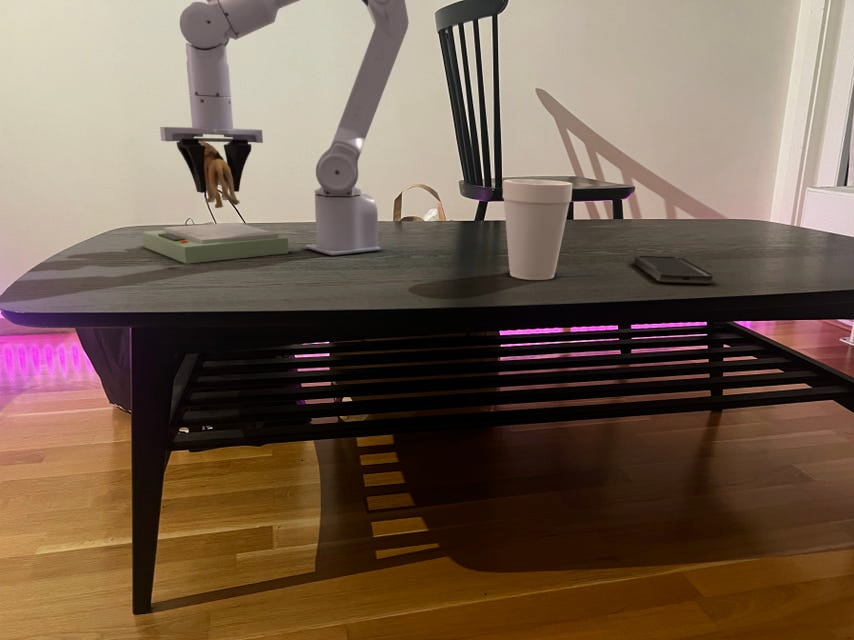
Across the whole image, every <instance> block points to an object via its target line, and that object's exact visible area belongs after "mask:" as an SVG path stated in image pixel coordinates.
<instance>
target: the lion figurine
mask: <svg viewBox="0 0 854 640" xmlns="http://www.w3.org/2000/svg"><path fill="white" fill-rule="evenodd" d="M199 143H201V145H203V146H205V158H204V170H205V179H206V194H207V198H206V199H205V203H206V204H207V203H209V204H210V203H214V202H215V204H214V208H215V209H221V208H224V204H223V201H229V203H230V204H231V205H233V206H237V205H239V204H240V203H241V202H240V200H239V199H238V198H237V196H236V192H234V186H233V178H232V175H231V171H230V168H229V166H228V164H227V160H225V159H224V157H223V156H222V155H221V154H220V151H219V150H217V149H216V147H214V146H213V145H212V144H210V143H208V142H199ZM183 160H184V161H185V159H184V158H183ZM219 186H220V187H221V193H220V192H219Z"/></svg>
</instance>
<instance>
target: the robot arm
mask: <svg viewBox="0 0 854 640" xmlns="http://www.w3.org/2000/svg"><path fill="white" fill-rule="evenodd" d="M300 1H301V0H206V2H202V1H193V2H191V4H190V5H188V6H187V7H186V8H185V9H184V10H183V11H182V12H181V14H180V16H179V28H180V32H181V34H182V36H183V37H184V39H185V40H186V41H187V42H185V49H186V50H185V53H186V73H187V85H188V95H189V107H190V116H191V117H190V118H191V127H190V126H189V127H188V126H187V127H185V126H183V127H181V126H176V127H175V126H160V127H159V131H160V139H161V140H160V141H161V142H176V147H177V149H178V151H179V153H180V154H181V156H182V158H183V160H184V159H185V160H184V161H185V164H186V165H187V167H188V169H189V171H190V174H191V176H192V179H193V182H194V186H195V190H196V192H197V193H200V194H207V190H206V179H205V170H204V158H205V146H203V145H201V143H199V142H206V143H208V142H209V143H210V142H211V143H224V144H223V149H224V154H225V159H226V160H225V161H226V163H227V164H228V166H229V168H230V171H231V175H232V178H233V186H234V193H238V192H239V193H240V186H241V181H242V175H243V171H244V168H245V165H246V162H247V160H248V158H249V155H250V154H251V152H252V144H251V143H254V144H255V143H257V144H262V143H264V136H263V129H258V128H257V129H254V128H253V129H252V128H234V120H233V108H232V106H233V104H232V93H231V80H230V67H229V66H230V65H229V63H228V56H227V46H228V45H229V42H230V39H233V40H236V41H237V40H238V39H241V38H243V37H245V36H248V35H250V34H251V33H254V32H257V31H258V30H260V29H262V28H263V29H264V28H265V27H267V26H269V25H272V24H274V23H275V22H276V18H277V15H278V12H279V10H280V9H282V8H285V7H287V6H290V5H292V4H295V3H297V2H300ZM361 1H362V2H363V4H364V5H365V7H366V9H367V11H368V14H369V15H370V18H371V20H372V22H373V25H374V29H373V32H372V34H371V37H370V39H369V42H368V44H367V48H366V50H365V53H364V56H363V58H362V61H361V64H360V66H359V70H358V71H357V75H356V77H355V80H354V82H353V86H352V87H351V91H350V94H349V96H348V99H347V102H346V104H345V107H344V109H343V112H342V115H341V117H340V121H339V123H338V126H337V128H336V131H335V134H334V137H333V139H332V142H331V145H330V146H329V148H328V149H327V150H326V151H325V152H323V154H322V155H321V156H320V158H319V159H318V161H317V163H316V166H315V177H316V180H317V182H318V184H319V185H320V187H318V188H316V189H314V213H315V238H316V239H315V240H316V241H315V242H316V244H314V243H313V244H306V245H305V249H307V250H311V251H315V252H318V253H322V254H326V255H329V256H339V255H340V256H341V255H347V254H357V253H366V252H376V251H381V250H382V247H381V246H379V225H378V224H379V223H378V222H379V219H378V216H379V213H378V207H377V203H376V201H375V199H374V198H373V196H372V195H370V194H368V193H362V190H361V189H359V188H358V187H357V186H356V184H357V182H358V180H359V165H358V163H359V159H360V156H361V154H362V152H363V151H362V150H363V147H364V144H365V141H366V138H367V136H368V133H369V130H370V128H371V125H372V123H373V121H374V118H375V115H376V112H377V110H378V108H379V105H380V102H381V99H382V96H383V93H384V91H385V89H386V86H387V85H388V84H387V83H388V81H389V78H390V76H391V73H392V70H393V68H394V65H395V63H396V60H397V57H398V55H399V53H400V49H401V46H402V44H403V41H404V39H405V36H406V33H407V31H408V28H409V23H410V22H409V15H408V11H407V5H406V0H361ZM204 135H210V136H211V135H212V136H214V135H215V136H223V137H224V138H223V137H222V138H221V137H220V138H219V137H218V138H217V137H204Z"/></svg>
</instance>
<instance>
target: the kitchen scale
mask: <svg viewBox="0 0 854 640" xmlns="http://www.w3.org/2000/svg"><path fill="white" fill-rule="evenodd" d="M142 241H143V248H145V249H148V250H150V251H153V252H155V253H158V254H160V255H163V256H166V257H168V258H171V259H173V260H175V261H178V262H180V263H183V264H186V265H188V264H189V265H190V264H197V263H198V264H200V263H206V262H207V263H208V262H217V261H226V260H235V259H236V260H237V259H245V258H246V259H247V258H256V257H267V256H275V255H285V254H289V238H288V237H286V236H281V235H279V233H278V232H274V231H269V230H267V229H262V228H259V227H255V226H251V225H247V224H244V223H240V222H225V223H223V222H222V223H207V224H194V225H181V226H180V225H178V226H167V227H165V226H164V227H163V230H162V229H161V230H150V231H142Z"/></svg>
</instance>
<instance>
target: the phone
mask: <svg viewBox="0 0 854 640" xmlns="http://www.w3.org/2000/svg"><path fill="white" fill-rule="evenodd" d="M633 263H634V265H635V266H637V267H638V268H640V269H641V271H644V272H645V273H646V274H648V275H649V276H651V278H653V279H654V280H656V281H657V282H660V283H665V284H698V285H699V284H700V285H701V284H702V285H710V284H712V283H713V279H714V278H713V277H714V275H713V274H712V273H710V272H708V271H707V270H705V269H704V268H701V267H699V266H697V265H696V264H694V263H692V262H690V261H689V260H687V259H685V258H684V257H680V256H661V255H659V256H656V255H635V256H634V262H633Z"/></svg>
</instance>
